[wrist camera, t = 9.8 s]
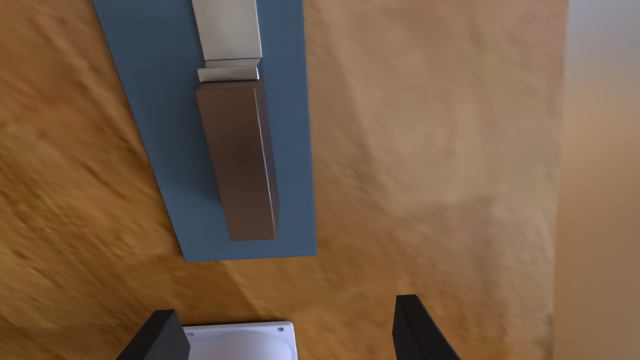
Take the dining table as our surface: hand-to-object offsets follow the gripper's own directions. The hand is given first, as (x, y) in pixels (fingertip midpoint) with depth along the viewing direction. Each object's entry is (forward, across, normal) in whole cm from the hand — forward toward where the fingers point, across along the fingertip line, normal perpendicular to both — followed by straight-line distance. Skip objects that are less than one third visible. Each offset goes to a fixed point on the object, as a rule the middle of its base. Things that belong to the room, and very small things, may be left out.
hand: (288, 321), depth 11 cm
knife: (+9, +2, -7) cm, 12 cm away
